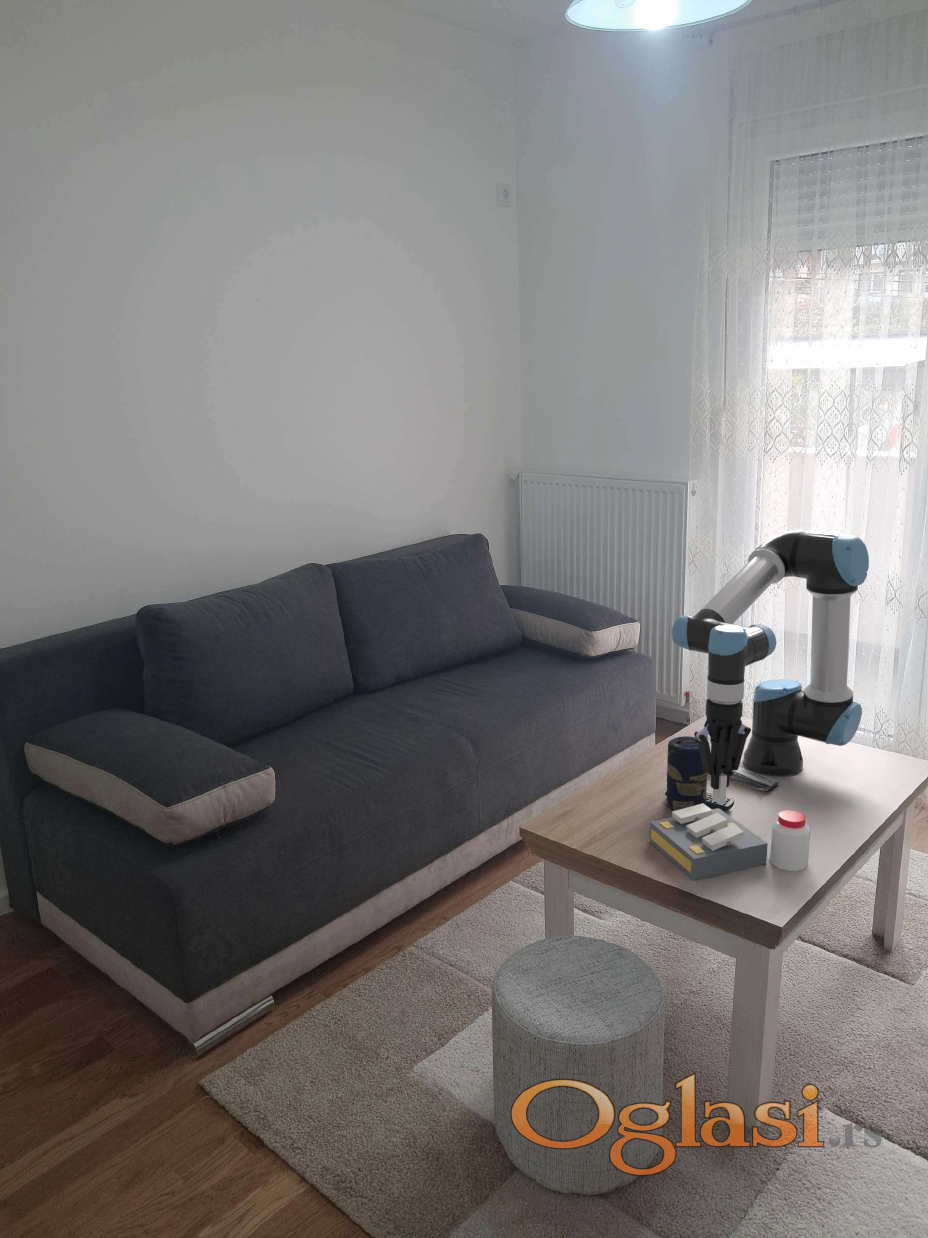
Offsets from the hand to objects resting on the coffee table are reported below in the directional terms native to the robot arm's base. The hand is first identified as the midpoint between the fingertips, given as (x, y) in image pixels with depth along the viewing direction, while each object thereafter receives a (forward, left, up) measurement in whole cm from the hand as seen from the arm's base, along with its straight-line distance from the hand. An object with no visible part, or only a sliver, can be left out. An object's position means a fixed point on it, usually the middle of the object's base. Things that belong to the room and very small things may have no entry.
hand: (718, 801), depth 205 cm
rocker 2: (+3, 0, -6) cm, 6 cm away
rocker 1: (+3, -6, -6) cm, 9 cm away
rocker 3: (+3, +6, -6) cm, 9 cm away
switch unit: (+3, 0, -12) cm, 12 cm away
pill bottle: (-11, +10, -12) cm, 19 cm away
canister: (-5, -21, -12) cm, 25 cm away
